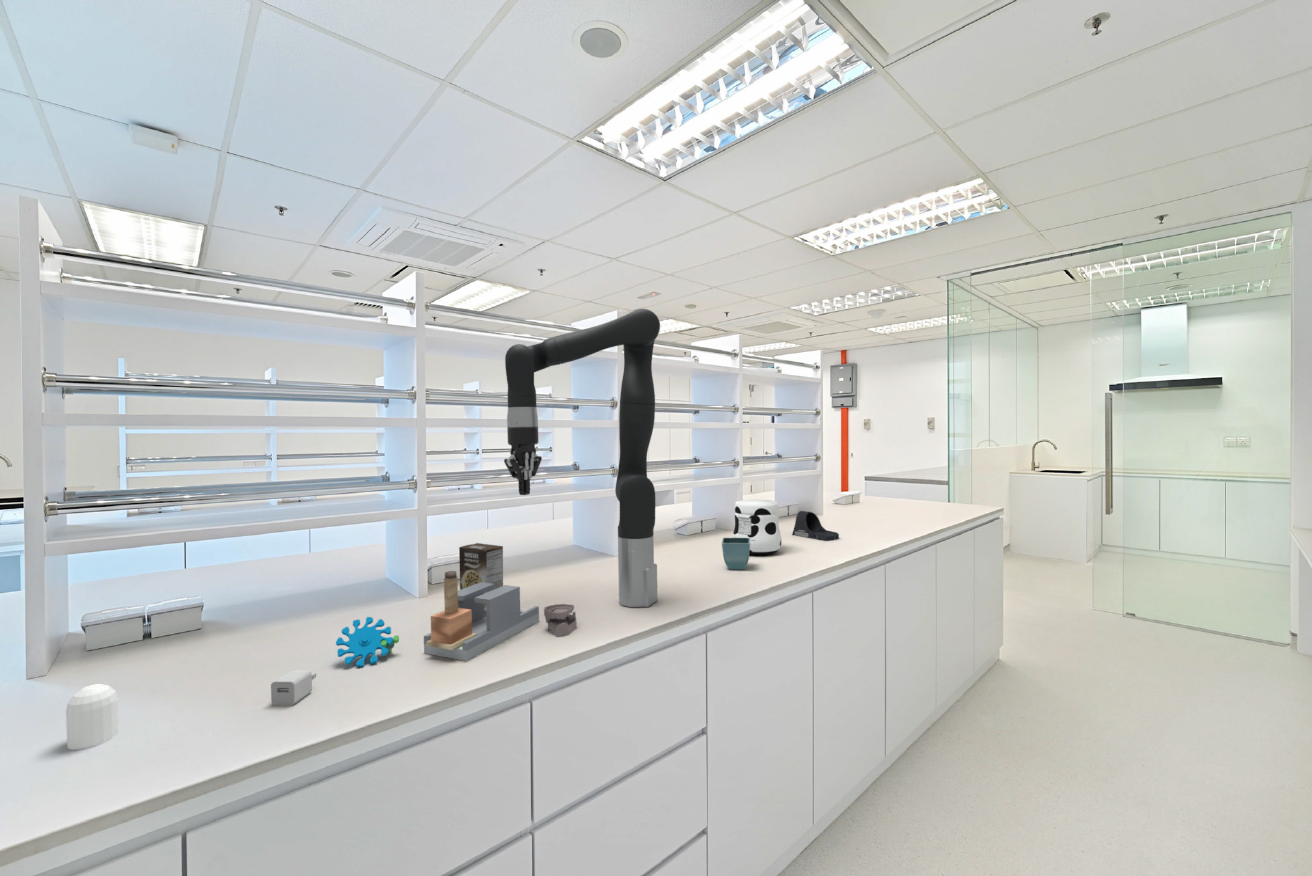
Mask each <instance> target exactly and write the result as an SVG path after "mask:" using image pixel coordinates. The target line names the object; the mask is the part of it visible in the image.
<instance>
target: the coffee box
mask: <svg viewBox="0 0 1312 876" xmlns="http://www.w3.org/2000/svg"><path fill="white" fill-rule="evenodd" d="M458 549H459V553H458V554H459V590H461V589H464V588H467V587H469V586H472V585H475V584H477V583H480V582H483V583H491V584H495V588H494V589H497V588H499V587H502V586H504V546H502V545H495V544H488V543H487V544H486V543H479V542H476V543H471V544H467V545H466V544H465V545H463V546H459V547H458ZM494 589H492V590H494ZM492 590H489V591H487V592H490V591H492ZM487 592H484V594H485V593H487ZM484 606H485V608H486V604H484Z"/></svg>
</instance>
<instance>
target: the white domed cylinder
mask: <svg viewBox="0 0 1312 876" xmlns="http://www.w3.org/2000/svg"><path fill="white" fill-rule="evenodd" d="M118 701H119V700H118V694H117V692H116V690H115V689H114V688H112V687H111V686H110V685H107V684H103V683H96V684H90V685H87V686H85V687H82V688H81V689H80V690H78V691H76V692H75V693H74V694H73V695H72V697H71V698H70V699H69V700H68V702H67V704H66V709H65V716H66V719H65V721H66V723H65V724H66V748H67V749H68V750H71V751H72V750H73V751H76V750H86V749H88V748H93V747H97V746H98V745H102V744H104V743H107V742H109V741H110V740H113V739H114V738H115V737H117V736H118V734H119V729H120V728H119V727H120V726H119V702H118Z"/></svg>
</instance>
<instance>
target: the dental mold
mask: <svg viewBox="0 0 1312 876" xmlns="http://www.w3.org/2000/svg"><path fill="white" fill-rule="evenodd" d="M543 614H544V617H545V622H546V623H547V630H546V632H548V633H550V634H551V635H553V636H555V638H562V637H565V636H568V635H570V634H572V632H573V631H575V630H576V629H577V627H578V626H577V616H576V615H577V614H576V611H575V605H574V604H567V603H560V604H559V603H558V604H556V603H555V604H553V605H552V604H551V605H548V606H547V605H546V606H545V607H544V609H543Z"/></svg>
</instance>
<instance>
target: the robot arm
mask: <svg viewBox="0 0 1312 876" xmlns="http://www.w3.org/2000/svg"><path fill="white" fill-rule="evenodd" d="M660 330H661V323H660V319H659V317H658V315H657V314H656V313H655V312H654V311H652V310H650V309H648V308H638V309H635V310H633V311H631V312H628V313H626V314H625V315H622V316H620V317H617V318H616V319H613V320H610V321H607V322H604V323H601V324H599V325H595V326H592V327H588V328H583V329H578V330H575V331H572V332H571V331H570V332H567V333H563V334H560V335H559V334H558V335H556V336H552V337H548V338H546V339H544V340H543V341H542V342H538V343H535V344H532V345H528V346H527V345H525V344H522V343H521V344H520V343H519V344H513V345H512V346H510V347H509V348H508V349H507V351H506V353H505V358H504V361H505V362H504V364H505V375H506V382H507V383H506V384H507V415H506V425H507V429H506V430H507V432H506V433H507V444H508V445H509V446H511V449H510V451H509V453H510V455H509V457H508V458H504V460H503V462H504V465H505V466H506V469H507V470H508V472H509V474H510V476H511V477H512V478H513V479H516V480H517V481H518V482H517V483H518V493H519V495H520V496H528V495H530V493H531V480H532V477H535V476H536V475H537V472H538V470H539V467H540V465H541V462H542V459H543V458H542V456H541V455H538V454H536V453H537V449H536V445H538V443H539V417H538V408H537V389H536V386H535V373H536V372H539V371H542V370H545V369H547V368H550V367H553V366H557V365H563V364H567V363H570V362H574V361H577V360H580V359H583V358H586V357H588V356H591V355H593V354H596V353H599V352H602V351H604V350H607V349H610V348H613V347H614V348H615V347H619V346H623V373H622V379H621V387H620V394H619V395H620V396H619V414H618V415H619V417H618V420H619V421H618V423H619V424H618V429H619V430H618V433H619V434H618V436H619V462H618V466H617V467H618V469H617V476H616V482H615V491H614V492H615V496H616V498H617V500H618V502H619V521H618V526H617V553H618V555H617V561H618V565H617V566H618V567H617V568H618V569H617V570H618V571H617V572H618V603H619V604H620V605H621V606H623V607H626V608H627V607H629V608H644V607H645V608H649V607H650V606H652V605H654V603H655V602H658V564H657V563H655V556H654V555H655V551H654V540H655V539H654V535H655V534H654V529H655V525H656V489H655V486H654V483H653V482H652V480H651V479H650V478H648V466H647V464H648V461H647V460H648V450H649V446H650V444H651V440H652V435H653V431H654V427H655V419H656V418H655V417H656V394H655V385H654V377H653V372H652V371H653V370H652V367H653V366H652V365H653V364H652V363H653V362H652V361H653V352H654V346H655V340H656V339H657V337H658V336H659V334H660Z"/></svg>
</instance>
